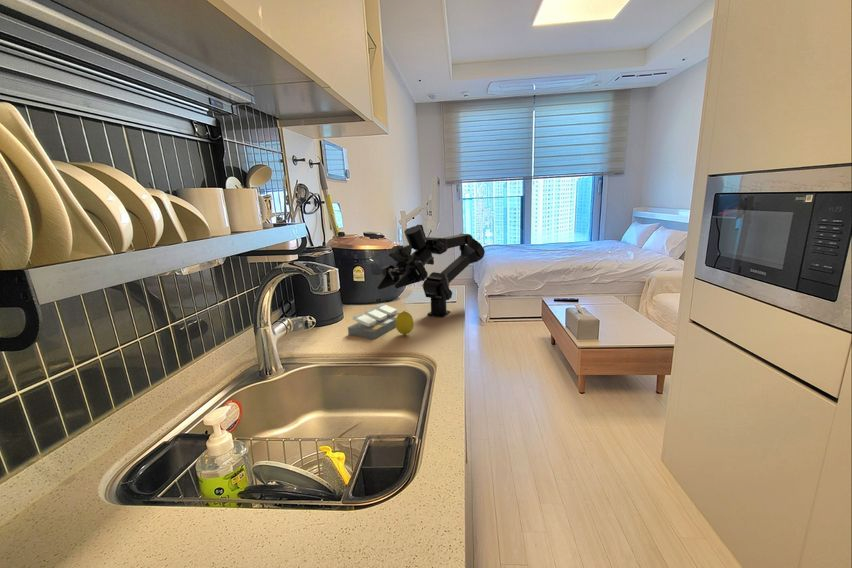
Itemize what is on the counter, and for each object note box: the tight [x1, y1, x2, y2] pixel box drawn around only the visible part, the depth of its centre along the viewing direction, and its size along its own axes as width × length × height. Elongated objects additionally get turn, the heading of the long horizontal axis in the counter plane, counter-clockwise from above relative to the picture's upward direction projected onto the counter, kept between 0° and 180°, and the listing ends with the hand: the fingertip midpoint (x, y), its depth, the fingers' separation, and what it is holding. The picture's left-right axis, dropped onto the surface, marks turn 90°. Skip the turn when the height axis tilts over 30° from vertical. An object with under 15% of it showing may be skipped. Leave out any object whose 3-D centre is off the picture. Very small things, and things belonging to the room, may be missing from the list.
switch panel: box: [347, 312, 401, 340], centre depth 121 cm, size 19×10×4 cm, turn 151°
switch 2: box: [374, 302, 398, 315], centre depth 126 cm, size 4×6×1 cm, turn 61°
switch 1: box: [352, 312, 376, 327], centre depth 116 cm, size 4×6×1 cm, turn 61°
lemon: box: [395, 310, 414, 336], centre depth 113 cm, size 6×6×8 cm
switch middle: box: [363, 307, 387, 321], centre depth 121 cm, size 4×6×1 cm, turn 61°
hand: (386, 287), depth 112 cm, fingers open, 9 cm apart
